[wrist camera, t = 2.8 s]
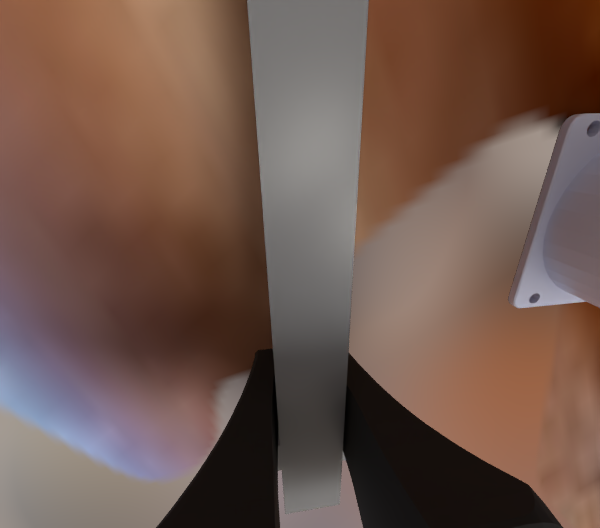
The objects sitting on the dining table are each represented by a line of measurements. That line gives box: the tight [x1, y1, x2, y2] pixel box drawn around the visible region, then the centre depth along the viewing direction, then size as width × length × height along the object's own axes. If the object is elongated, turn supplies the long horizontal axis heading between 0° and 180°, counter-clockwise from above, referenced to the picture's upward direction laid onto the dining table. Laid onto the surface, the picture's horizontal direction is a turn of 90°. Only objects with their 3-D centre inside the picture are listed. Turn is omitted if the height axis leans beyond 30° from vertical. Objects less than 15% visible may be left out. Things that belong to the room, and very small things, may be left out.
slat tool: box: [247, 0, 369, 514], centre depth 8 cm, size 5×20×4 cm, turn 1°
